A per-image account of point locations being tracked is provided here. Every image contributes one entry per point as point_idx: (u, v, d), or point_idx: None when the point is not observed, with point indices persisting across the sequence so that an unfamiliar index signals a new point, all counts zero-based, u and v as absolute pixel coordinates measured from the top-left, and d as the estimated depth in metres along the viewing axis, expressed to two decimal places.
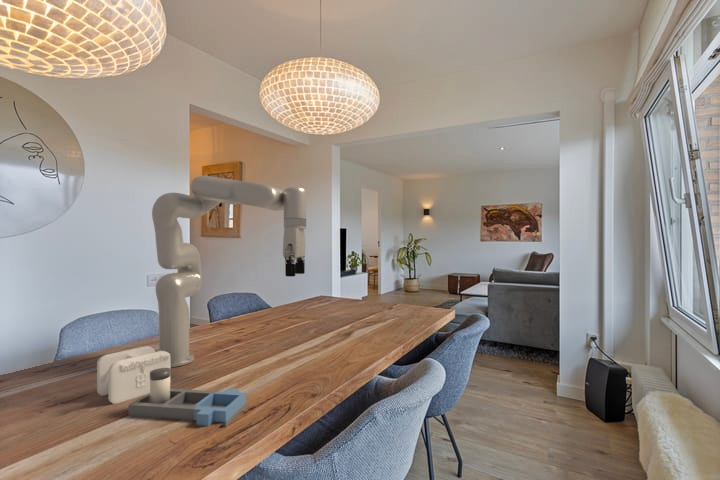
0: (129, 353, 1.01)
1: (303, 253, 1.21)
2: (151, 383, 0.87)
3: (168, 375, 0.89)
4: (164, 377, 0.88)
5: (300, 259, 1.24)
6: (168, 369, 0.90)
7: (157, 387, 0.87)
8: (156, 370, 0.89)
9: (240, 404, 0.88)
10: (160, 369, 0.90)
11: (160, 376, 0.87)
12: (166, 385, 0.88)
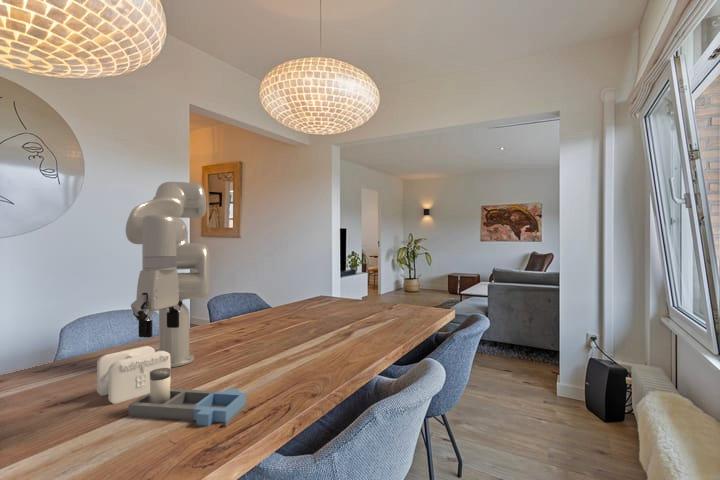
0: (129, 353, 1.01)
1: (173, 302, 0.91)
2: (151, 383, 0.87)
3: (168, 375, 0.89)
4: (164, 377, 0.88)
5: (173, 308, 0.94)
6: (168, 369, 0.90)
7: (157, 387, 0.87)
8: (156, 370, 0.89)
9: (240, 404, 0.88)
10: (160, 369, 0.90)
11: (160, 376, 0.87)
12: (166, 385, 0.88)
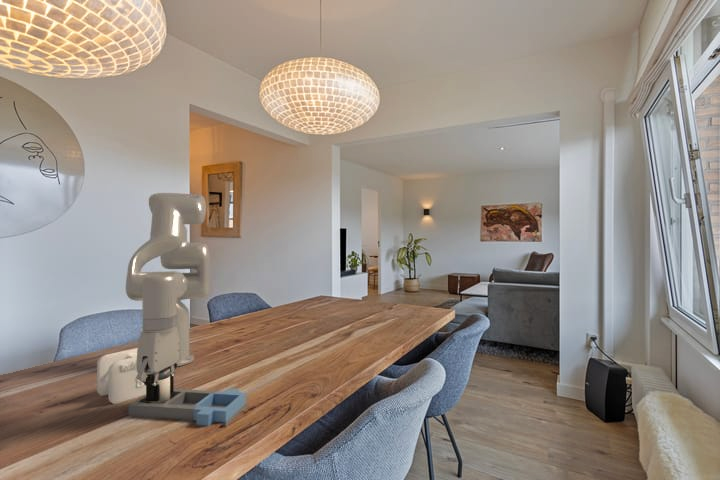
0: (129, 353, 1.01)
1: (174, 360, 0.91)
2: None
3: (168, 375, 0.89)
4: (164, 377, 0.88)
5: None
6: (168, 369, 0.90)
7: None
8: None
9: (240, 404, 0.88)
10: None
11: (160, 376, 0.87)
12: (166, 385, 0.88)
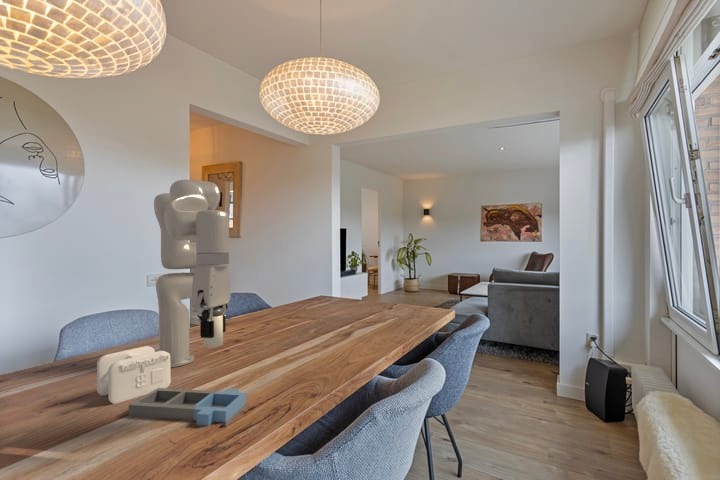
0: (129, 353, 1.01)
1: (226, 299, 0.89)
2: None
3: (221, 313, 0.87)
4: (218, 314, 0.86)
5: None
6: (221, 308, 0.88)
7: None
8: None
9: (240, 404, 0.88)
10: None
11: (214, 313, 0.85)
12: (220, 322, 0.86)
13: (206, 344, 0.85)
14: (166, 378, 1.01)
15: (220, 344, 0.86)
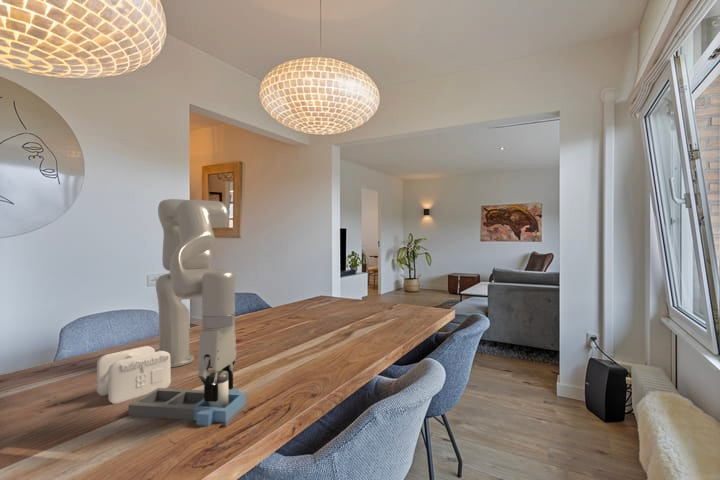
0: (129, 353, 1.01)
1: (232, 359, 0.89)
2: None
3: (227, 378, 0.86)
4: (223, 381, 0.85)
5: (227, 368, 0.90)
6: (226, 372, 0.88)
7: None
8: None
9: (240, 404, 0.88)
10: (218, 372, 0.88)
11: (220, 379, 0.85)
12: (225, 388, 0.86)
13: None
14: (166, 378, 1.01)
15: None
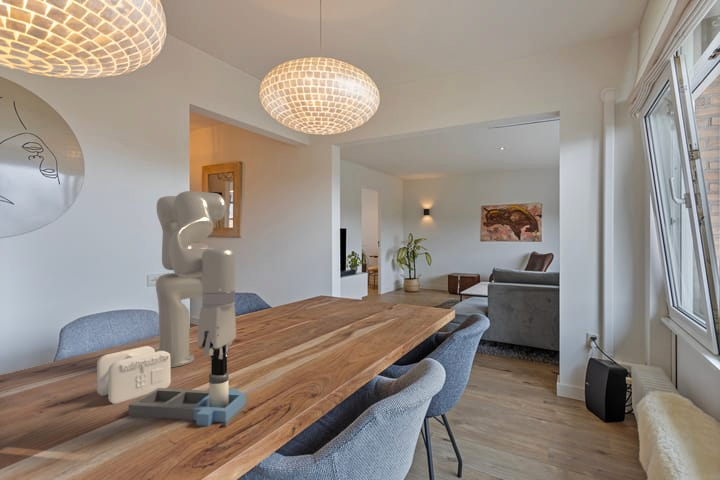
0: (129, 353, 1.01)
1: (232, 337, 0.89)
2: (211, 386, 0.85)
3: (227, 378, 0.86)
4: (224, 381, 0.85)
5: None
6: None
7: (217, 390, 0.84)
8: None
9: (240, 404, 0.88)
10: None
11: (220, 380, 0.85)
12: (226, 388, 0.86)
13: None
14: (166, 378, 1.01)
15: None
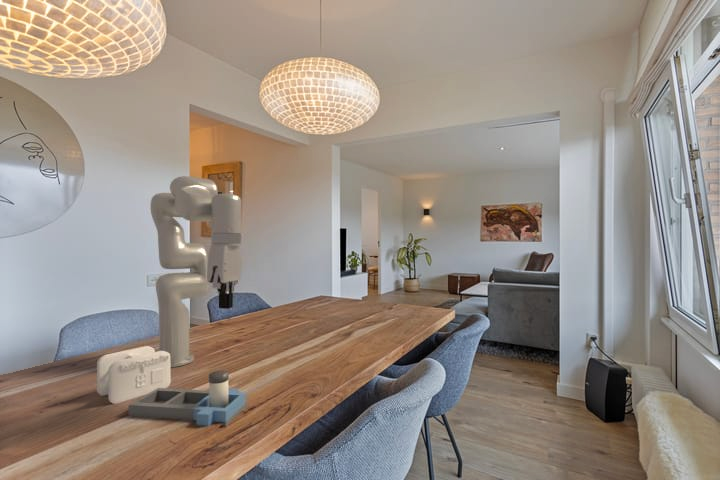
0: (129, 353, 1.01)
1: (237, 276, 0.98)
2: (211, 386, 0.85)
3: (227, 378, 0.86)
4: (224, 380, 0.85)
5: None
6: (226, 372, 0.88)
7: (217, 390, 0.84)
8: (214, 373, 0.87)
9: (240, 404, 0.88)
10: (218, 372, 0.88)
11: (220, 379, 0.85)
12: (226, 388, 0.86)
13: None
14: (166, 378, 1.01)
15: None
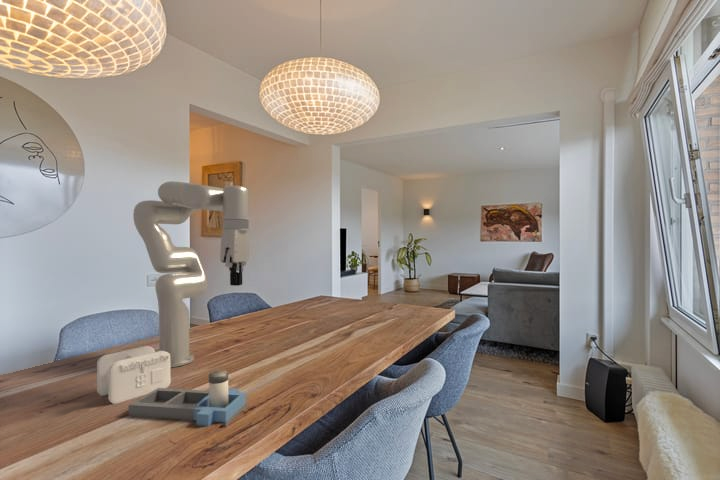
0: (129, 353, 1.01)
1: (246, 257, 1.12)
2: (211, 386, 0.85)
3: (227, 378, 0.86)
4: (223, 380, 0.85)
5: None
6: (226, 372, 0.88)
7: (217, 390, 0.84)
8: (214, 373, 0.87)
9: (240, 404, 0.88)
10: (218, 372, 0.88)
11: (220, 379, 0.85)
12: (225, 388, 0.86)
13: None
14: (166, 378, 1.01)
15: None
